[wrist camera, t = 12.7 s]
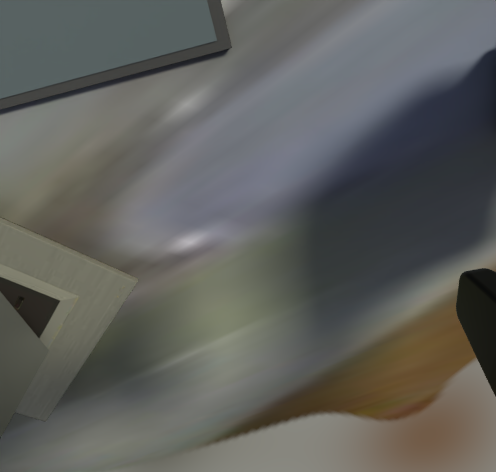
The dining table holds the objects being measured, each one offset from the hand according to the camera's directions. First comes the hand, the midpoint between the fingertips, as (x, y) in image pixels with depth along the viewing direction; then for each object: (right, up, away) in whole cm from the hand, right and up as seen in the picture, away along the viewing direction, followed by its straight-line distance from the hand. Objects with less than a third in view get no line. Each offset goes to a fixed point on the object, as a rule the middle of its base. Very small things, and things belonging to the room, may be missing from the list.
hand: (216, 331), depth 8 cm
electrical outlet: (-13, -2, +17) cm, 21 cm away
